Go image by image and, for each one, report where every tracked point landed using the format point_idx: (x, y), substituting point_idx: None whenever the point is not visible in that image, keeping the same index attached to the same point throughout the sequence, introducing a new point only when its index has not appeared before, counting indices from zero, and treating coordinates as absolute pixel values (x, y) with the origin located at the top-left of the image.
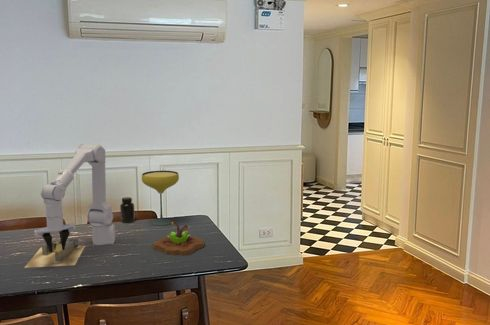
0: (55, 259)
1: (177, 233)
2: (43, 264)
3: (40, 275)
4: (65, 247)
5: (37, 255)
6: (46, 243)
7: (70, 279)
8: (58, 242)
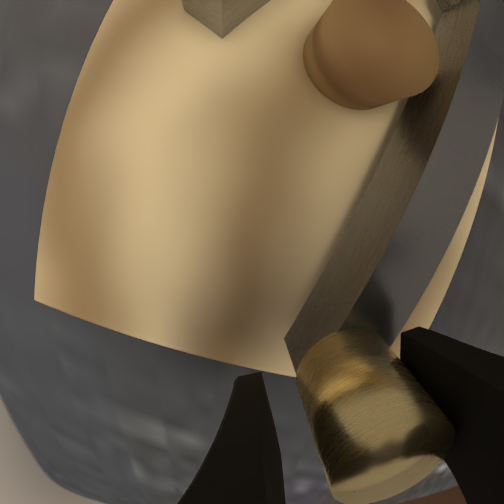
0: (289, 347)
1: None
2: (173, 294)
3: (164, 423)
4: (454, 193)
5: (138, 6)
6: (203, 468)
7: (312, 492)
8: (409, 458)
